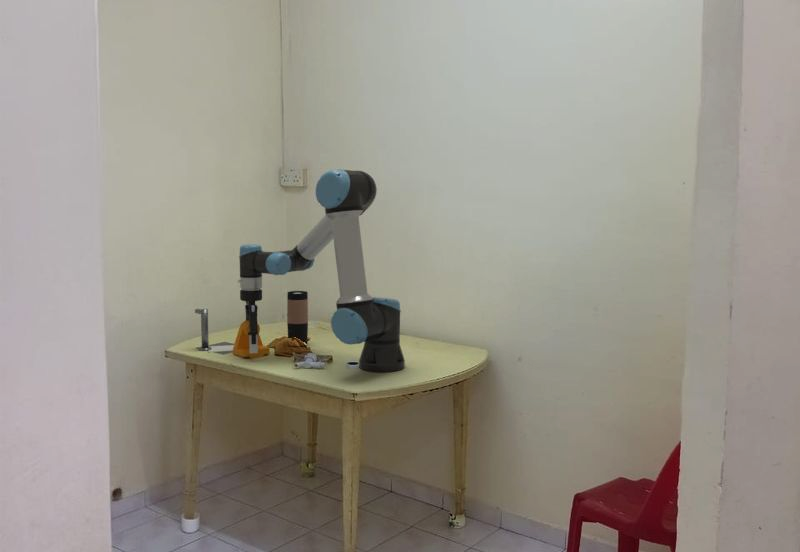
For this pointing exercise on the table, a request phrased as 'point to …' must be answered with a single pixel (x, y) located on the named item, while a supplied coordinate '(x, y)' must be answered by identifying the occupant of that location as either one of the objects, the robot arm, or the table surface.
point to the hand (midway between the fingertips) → (251, 348)
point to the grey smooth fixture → (204, 329)
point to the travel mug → (297, 315)
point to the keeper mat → (221, 348)
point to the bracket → (243, 343)
